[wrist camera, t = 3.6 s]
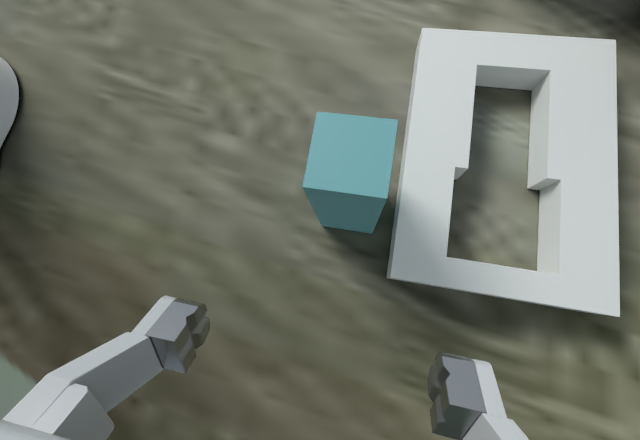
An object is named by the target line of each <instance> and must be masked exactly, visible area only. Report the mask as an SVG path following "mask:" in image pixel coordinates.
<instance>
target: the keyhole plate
mask: <svg viewBox="0 0 640 440" xmlns="http://www.w3.org/2000/svg"><path fill="white" fill-rule="evenodd" d="M475 86H485V87H497V88H508V89H520V90H532V94H531V116H530V138H529V160H528V182H527V189H533V190H540V200H539V227H538V254H537V271H533V270H526V269H520V268H514V267H508V266H501V265H495V264H489V263H482V262H476V261H470V260H464V259H457V258H451V257H447V247H448V236H449V226H450V215H451V204H452V194H453V183H454V180H457V179H458V178H459V177H460V176H461V175H462V174H463V173H464V172H465V171H466V170H467V169H468V165H469V153H470V141H471V130H472V118H473V106H474V95H475ZM386 278H389V279H394V280H400V281H406V282H412V283H417V284H423V285H429V286H435V287H441V288H446V289H452V290H458V291H464V292H469V293H475V294H481V295H487V296H493V297H498V298H504V299H510V300H516V301H521V302H527V303H533V304H539V305H545V306H550V307H556V308H562V309H568V310H573V311H579V312H585V313H591V314H599V315H607V316H616V317H620V281H619V213H618V145H617V77H616V40H611V39H595V38H579V37H563V36H547V35H531V34H515V33H499V32H483V31H467V30H451V29H435V28H422V31H421V34H420V38H419V42H418V45H417V49H416V55H415V62H414V70H413V78H412V85H411V93H410V100H409V108H408V116H407V123H406V131H405V139H404V146H403V154H402V162H401V169H400V177H399V185H398V192H397V200H396V208H395V215H394V223H393V231H392V238H391V246H390V254H389V261H388V269H387V277H386Z"/></svg>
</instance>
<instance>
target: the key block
mask: <svg viewBox="0 0 640 440" xmlns="http://www.w3.org/2000/svg"><path fill="white" fill-rule="evenodd" d="M397 123H398V120H394V119H384V118H375V117H365V116H355V115H346V114H336V113H326V112H317V115H316V120H315V125H314V130H313V136H312V141H311V146H310V151H309V156H308V161H307V167H306V172H305V177H304V182H303V189H304V191H305V193H306V195H307V197H308V199H309V201H310V203H311V205H312V207H313V209H314V211H315V213H316V215H317V217H318V219H319V221H320V223H321V225H322V226H325V227H332V228H338V229H345V230H351V231H357V232H364V233H370V234H372V233H373V231H374V228H375V226H376V224H377V221H378V219H379V217H380V214H381V212H382V210H383V207H384V205H385V203H386V200H387V196H388V189H389V182H390V174H391V167H392V160H393V152H394V145H395V138H396V130H397Z"/></svg>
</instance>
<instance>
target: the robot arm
mask: <svg viewBox="0 0 640 440" xmlns="http://www.w3.org/2000/svg"><path fill="white" fill-rule="evenodd" d="M18 101H19V88H18V82H17V79H16V76H15V74H14V72H13V70H12V68H11V67H10V65H9V64H8V63H7V62H6V61H5V60H3V59H2V58H1V57H0V148H1V146H2V144H3V141H4V140H5V138H6V136H7V134H8V132H9V130H10V128H11V126H12V124H13V121H14V118H15V115H16V112H17V108H18ZM206 311H207V309H206V305H205V304H202V303H197V302H193V301H188V300H184V299H179V298H175V297H170V296H163V297H162V298H160V299H159V300H158V301H157V303H156V304H155V305H154V306H153V307H152V308H151V310H150V311H149V312H148V313H147V314H146V315H145V317H144V318H143V319H142V320H141V321H140V322H139V324H138V325H137V326H136V327H135V328H134V329H133V331H132V332H126V333H124V334H122V335H120V336H118V337H116V338H114V339H113V340H111V341H109V342H107V343H105V344H103V345H101V346H99V347H97V348H95V349H94V350H92V351H90V352H88V353H86V354H84V355H82V356H80V357H78V358H77V359H75V360H73V361H71V362H69V363H67V364H65V365H63V366H61V367H60V368H58V369H56V370H54V371H52V372H50V373H48V374H46V375H45V376H44V378H43V379H42V380H41V381H40V382H39V383H38V384H37V385H36V386H35V387H34V388H33V389H32V390H31V391H30V392H29V393H28V394H27V395H26V396H25V397H24V398H23V399H22V400H21V401H20V402H19V403H18V404H17V405H16V406H15V407H14V408H13V409H12V410H11V411H10V412H9V413H8V414H7V415H6V416H5V417H4V418H3V419H0V440H107V438H108V437H109V435H110V434H111V432H112V431H113V429H114V423H113V421H112V420H111V419H110V417H109V416H108V415H107V412H109V411H110V410H111V409H112V408H114V407H115V406H116V405H118V404H119V403H120V402H122V401H123V400H124V399H126V398H127V397H128V396H130V395H131V394H132V393H133V392H135V391H136V390H137V389H139V388H140V387H141V386H143V385H144V384H145V383H147V382H148V381H149V380H151V379H152V378H153V377H154V376H156V375H157V374H158V373H160V372H161V371H162V370H163V369H167V370H172V371H177V372H182V373H186V372H187V370H188V368H189V367H190V365H191V363H192V362H193V360H194V358H195V357H196V351H195V349H196V348H198V347H199V346H201V345H203V343H204V341H205V340H206V338H207V335H208V332H209V329H210V321H209V318H208V317H207V316H206V315H205V313H206ZM435 361H436V364H435V365H432V366H431V368H430V371H429V376H428V395H429V397H430V398H431V400H432V401H433V405H432V407H431V409H430V416H431V425H432V433H434V434H438V435H442V436H445V437H449V438H453V439H456V440H529V439H528V438H527V436H526V435H525V434H524V433H523V432H522V430H521V429H520V428H519V427H518V426H517V424H516V423H515V422H514V421H513V420H511V419H508V418H507V415H506V412H505V409H504V405H503V402H502V398H501V395H500V392H499V388H498V385H497V382H496V378H495V375H494V372H493V368H492V366H491V364H490V363H489V362H486V361H481V360H476V359H471V358H468V357H463V356H458V355H452V354H447V353H442V352H439V353H437V355H436V357H435ZM162 368H163V369H162Z"/></svg>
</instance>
